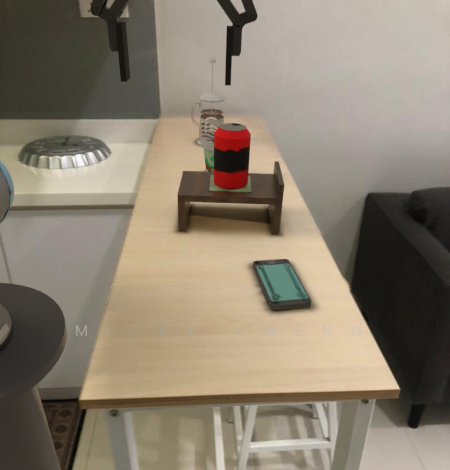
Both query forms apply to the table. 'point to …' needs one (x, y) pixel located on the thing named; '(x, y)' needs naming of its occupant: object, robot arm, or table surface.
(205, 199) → the shelf
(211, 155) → the food container
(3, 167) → the robot arm
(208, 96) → the french press
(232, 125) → the soda can
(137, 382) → the table surface
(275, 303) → the smartphone
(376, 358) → the table surface
